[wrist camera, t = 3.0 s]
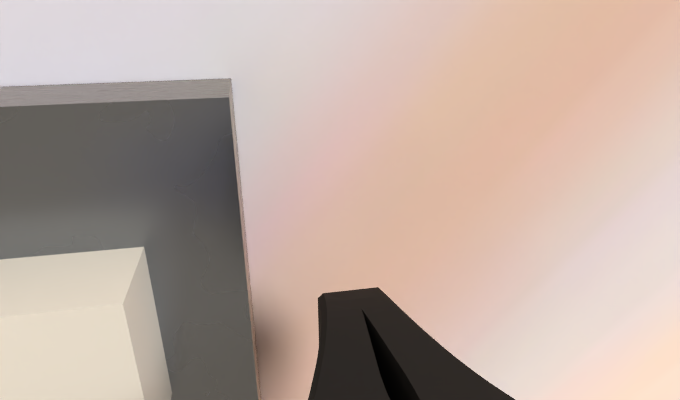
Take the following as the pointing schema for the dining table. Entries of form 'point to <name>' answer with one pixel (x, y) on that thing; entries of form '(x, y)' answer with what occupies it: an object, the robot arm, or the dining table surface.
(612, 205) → the dining table surface
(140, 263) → the tile
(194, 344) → the slate plate
